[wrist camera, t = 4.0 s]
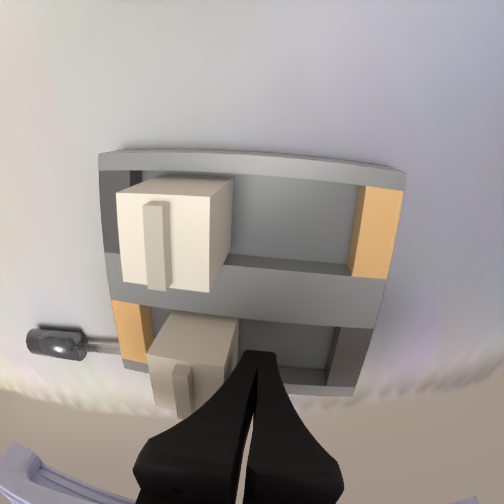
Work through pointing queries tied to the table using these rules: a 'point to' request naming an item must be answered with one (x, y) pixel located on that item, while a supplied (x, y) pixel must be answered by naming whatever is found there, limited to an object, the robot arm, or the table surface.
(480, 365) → the table surface
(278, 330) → the switch bank
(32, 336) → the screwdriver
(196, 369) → the tab
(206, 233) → the tab
